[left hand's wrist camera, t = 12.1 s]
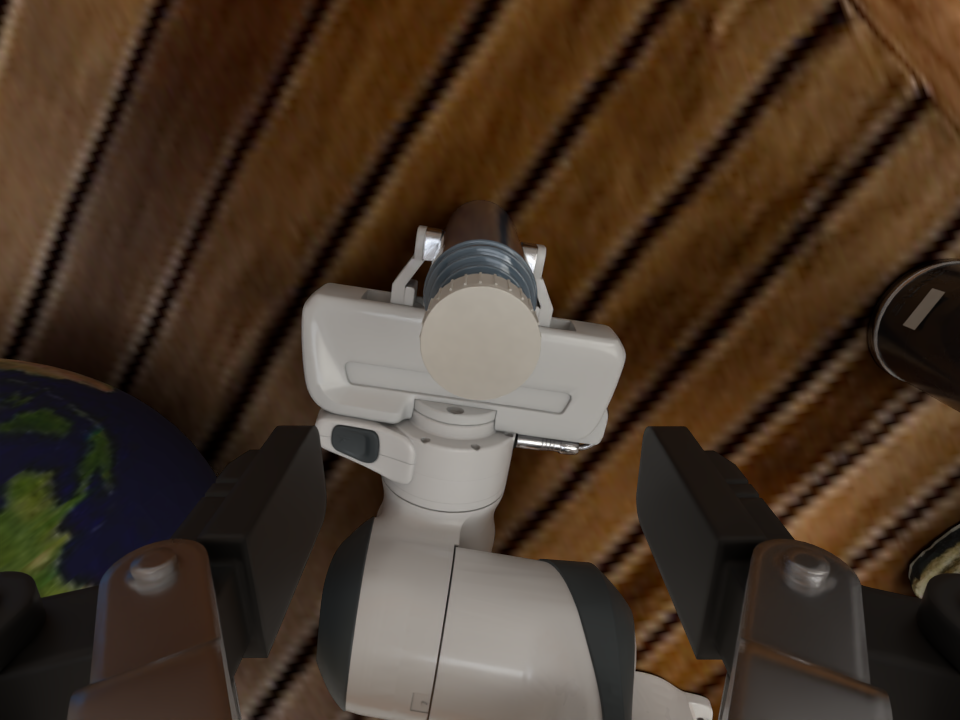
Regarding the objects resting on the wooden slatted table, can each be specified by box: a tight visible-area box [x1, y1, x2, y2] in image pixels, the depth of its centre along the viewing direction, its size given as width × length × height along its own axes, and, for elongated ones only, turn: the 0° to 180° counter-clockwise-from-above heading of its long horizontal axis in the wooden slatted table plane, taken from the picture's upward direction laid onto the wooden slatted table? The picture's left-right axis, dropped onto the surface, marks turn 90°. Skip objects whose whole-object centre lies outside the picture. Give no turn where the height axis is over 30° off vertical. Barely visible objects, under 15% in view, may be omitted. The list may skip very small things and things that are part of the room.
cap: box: [419, 272, 542, 400], centre depth 19 cm, size 4×4×2 cm
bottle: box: [423, 200, 538, 311], centre depth 30 cm, size 5×5×23 cm
